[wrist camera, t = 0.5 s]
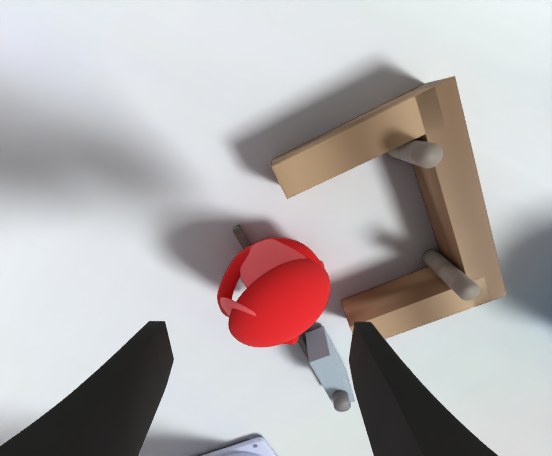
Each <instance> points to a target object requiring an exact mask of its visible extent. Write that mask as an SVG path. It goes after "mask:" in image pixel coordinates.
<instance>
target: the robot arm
mask: <svg viewBox="0 0 552 456" xmlns="http://www.w3.org/2000/svg"><path fill="white" fill-rule="evenodd" d="M173 360H174V358H173V353H172V349H171V345H170V341H169V337H168V332H167V328H166V324H165V321H149V322H148V323H147V324H146V325H145V326H144V327H143V328H141V329H140V330H139V331H138V332H137V333H136V334H135V335H134V336H133V337H132V338H131V339H130V340H129V341H128V342H127V343H126V344H125V345H124V346H123V347H122V348H121V349H120V350H119V351H117V352H116V353H115V354H114V355H113V356H112V357H111V358H110V359H109V360H108V361H107V362H106V363H105V364H104V365H102V366H101V367H100V368H99V369H98V370H97V371H96V372H95V373H94V374H92V375H91V376H90V377H89V378H88V379H87V380H86V381H84V382H83V383H82V384H81V385H80V386H79V387H78V388H76V389H75V390H74V391H73V392H72V393H71V394H69V395H68V396H67V397H66V398H65V399H63V400H62V401H61V402H60V403H58V404H57V405H56V406H55V407H53V408H52V409H51V410H49V411H48V412H47V413H45V414H44V415H43V416H42V417H40V418H39V419H38V420H36V421H35V422H34V423H32V424H31V425H30V426H28V427H27V428H26V429H24V430H23V431H21V432H20V433H18V434H17V435H16V436H14V437H13V438H11V439H10V440H8V441H7V442H6V443H4V444H3V445H1V446H0V456H138V454H139V452H140V449H141V447H142V445H143V442H144V440H145V437H146V435H147V432H148V430H149V428H150V425H151V423H152V420H153V418H154V415H155V413H156V411H157V408H158V406H159V403H160V401H161V398H162V396H163V393H164V391H165V388H166V385H167V382H168V379H169V375H170V372H171V368H172V364H173ZM349 363H350V369H351V375H352V380H353V385H354V390H355V393H356V397H357V400H358V404H359V407H360V410H361V414H362V417H363V421H364V424H365V427H366V431H367V434H368V437H369V441H370V444H371V448H372V451H373V454H374V456H498V455H497V454H495V453H494V452H493V451H492V450H491V449H489V448H488V447H487V446H486V445H485V444H484V443H482V442H481V441H480V440H479V439H478V438H477V437H476V436H475V435H474V434H472V433H471V432H470V431H469V430H468V429H467V428H466V427H465V426H464V425H463V424H462V423H461V422H459V421H458V420H457V419H456V418H455V417H454V416H453V415H452V414H451V413H450V412H449V411H448V410H447V409H446V408H445V407H444V406H443V405H442V404H441V403H440V402H439V401H438V400H437V399H436V398H435V397H434V396H433V395H432V394H431V393H430V391H429V390H428V389H427V388H426V387H425V386H424V385H423V384H422V383H421V382H420V381H419V380H418V378H417V377H416V376H415V375H414V374H413V373H412V372H411V370H410V369H409V368H408V367H407V366H406V365H405V363H404V362H403V361H402V360H401V359H400V358H399V356H398V355H397V354H396V353H395V352H394V350H393V349H392V348H391V347H390V345H389V344H388V343H387V342H386V340H385V339H384V338H383V336H382V335H381V334H380V333H379V331H378V330H377V329H376V327H375V326H374V325H373V324H372V323H371V322H354V328H353V335H352V342H351V349H350V356H349ZM202 456H276V454H275V453H274V452H273V450H272V449H271V448H270V446H269V445H268V444H267V442H266V441H265V440H264V439H263V438H262V437H257V438H254V439H251V440H248V441H245V442H242V443H239V444H235V445H232V446H229V447H226V448H223V449H220V450H217V451H214V452H211V453H208V454H205V455H202Z"/></svg>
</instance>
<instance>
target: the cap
mask: <svg viewBox="0 0 552 456" xmlns="http://www.w3.org/2000/svg"><path fill="white" fill-rule="evenodd" d="M240 276H241V279H242V281H243V283H244V285H245V286H246V287H247V289H246V290H245V291H244V292H243V293H242V295H241V296H240V297H239V299H238V300H237V302H235V301H233V300H232V295H233V292H234V289H235V286H236V284H237V282H238V280H239V277H240ZM329 295H330V279H329V276H328V274H327V272H326V270H325V269H324V264H323V262H322V261H320V260H319V259H318V258H317V257H316V255H315V254H314V253H313V252H312V251H311V250H310V249H309V248H308V247H307V246H305V245H304V244H302V243H300V242H298V241H295V240H291V239H286V238H267V239H264V240H262V241H258V242H256V243H254V244H252V245H250V246H248V247H247V248H245V249H243V250H242V251H241V252H240V253H239V254H237V256H236V257H235V258H234V259H233V261H232V262H231V264H230V265H229V267H228V269H227V271H226V272H225V274H224V277H223V279H222V281H221V284H220V287H219V290H218V295H217V300H218V304H219V307H220V309H221V311H222V313H223V314H224V315H225V316H227V317H229V330H230V332H231V334H232V335H233V336H234V337H235V338H236V339H237V340H238V341H240V342H241V343H243V344H246V345H248V346H253V347H271V346H276V345H279V344H295V343H296V342H297V341H298V336H299V335H300V334H302V333H303V332H305V331H306V330H307V329H308V328H309V327H311V326H312V325H313V324H314V322H315V321H316V320H317V319H318V318H319V316H320V315H321V314H322V312H323V310H324V309H325V307H326V304H327V302H328V299H329Z"/></svg>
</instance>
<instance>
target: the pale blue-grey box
mask: <svg viewBox="0 0 552 456" xmlns="http://www.w3.org/2000/svg"><path fill="white" fill-rule="evenodd" d="M305 335H306V343H307V351H308V358H309V364H310V365H311V367H312V369H313V370H314V372H315V374H316V375H317V377H318V379H319V381H320V382H321V384H322V386H323V387H324V389H325V391H326V393H327V394H328V396H329V398H330V399H331V401H332V403H333V405H334V408H335V409H336V410H337V411H340V412H343V411H347V410H348V409H349V408H350V407H351V404H350V403H351V402H354V401H355V400H354V396H353V392H352V389H351V385H350V381H349V378H348V374H347V370H346V368H345V366H344V364H343V362H342V360H341V358H340V356H339V354H338V353H337V351H336V349H335V347H334V345H333V343H332V341H331V339H330V337H329V336H328V334H327V332H326V330H325V328H324V326H323V327H320V328H317V329H315V330H312V331H309V332H307V333H305Z"/></svg>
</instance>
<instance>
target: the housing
mask: <svg viewBox="0 0 552 456" xmlns="http://www.w3.org/2000/svg"><path fill="white" fill-rule="evenodd" d="M384 153H387V154H388V155H389V156H391V157H394V158H397V159H400V160H403V161H406V162H409V163H412V164H413V167H414V171H415V174H416V177H417V180H418V183H419V187H420V190H421V193H422V196H423V199H424V203H425V206H426V209H427V212H428V215H429V218H430V222H431V225H432V228H433V231H434V234H435V238H436V241H437V244H438V247H439V250H440V253H439V252H438V251H436V250H433V249H432V250H428V251H426V252H425V253H424V255H423V257H422V259H423V262H424V263H425V264H426V265H427V266H428V267H426V268H423V269H421V270H418V271H416V272H413V273H411V274H408V275H405V276H403V277H400V278H398V279H395V280H393V281H390V282H388V283H385V284H382V285H380V286H377V287H375V288H372V289H370V290H367V291H365V292H362V293H359V294H357V295H354V296H352V297H349V298H347V299H344V300H342V301H341V303H342V306H343V309H344V312H345V315H346V318H347V321H348V324H349V326H350V329H351V331H352V333H353V328H354V322H371V323H372V324H373V325H374V326H375V327H376V329H377V330H378V331H379V333H380V334H381V335H382V336H383V338H384V339H386V338H389V337H392V336H395V335H397V334H400V333H403V332H406V331H409V330H411V329H414V328H417V327H420V326H422V325H425V324H428V323H431V322H434V321H436V320H439V319H442V318H445V317H448V316H450V315H453V314H456V313H459V312H462V311H464V310H467V309H470V308H473V307H475V306H478V305H481V304H484V303H487V302H489V301H492V300H495V299H498V298H501V297H503V296H506V291H505V287H504V283H503V278H502V274H501V270H500V266H499V261H498V257H497V253H496V249H495V244H494V240H493V236H492V232H491V227H490V223H489V219H488V215H487V210H486V206H485V202H484V198H483V193H482V189H481V185H480V181H479V176H478V172H477V168H476V164H475V159H474V155H473V151H472V147H471V142H470V138H469V134H468V130H467V125H466V121H465V117H464V113H463V108H462V104H461V100H460V96H459V92H458V87H457V83H456V79H455V76H454V77H450V78H446V79H442V80H437V81H433V82H429V83H425V84H423V85H421V86H419V87H417V88H415V89H413V90H411V91H409V92H407V93H405V94H403V95H401V96H399V97H397V98H395V99H393V100H391V101H389V102H387V103H385V104H383V105H381V106H379V107H377V108H375V109H373V110H371V111H369V112H367V113H365V114H363V115H361V116H359V117H357V118H355V119H353V120H351V121H349V122H347V123H345V124H343V125H341V126H339V127H337V128H335V129H333V130H331V131H329V132H327V133H325V134H323V135H321V136H319V137H317V138H315V139H313V140H311V141H309V142H307V143H305V144H303V145H301V146H299V147H297V148H295V149H293V150H291V151H289V152H287V153H285V154H283V155H281V156H279V157H277V158H275V159H273V160H272V166H271V167H272V169H273V171H274V173H275V175H276V177H277V179H278V182H279V184H280V186H281V188H282V190H283V192H284V194H285V196H286V198H287V199H288V198H290V197H292V196H295V195H297V194H299V193H301V192H303V191H305V190H307V189H309V188H312V187H314V186H316V185H318V184H320V183H322V182H324V181H326V180H329V179H331V178H333V177H335V176H337V175H339V174H341V173H344V172H346V171H348V170H350V169H352V168H354V167H356V166H358V165H361V164H363V163H365V162H367V161H369V160H371V159H373V158H376V157H378V156H380V155H382V154H384ZM233 232H234V234H235V235H236V237H237V239H238V240H239V242H240V244H241V246H242V247H243V249H245V248H247V247H248V246H250V244H249V242H248V240H247V238H246V237H245V235H244V233H243V231H242V229H241V228H240V226H239V225H238V226H236V227H234V228H233ZM297 342H298V343H299V345H300V347H301V348H302V350H303V352H304V354H305V355H306V357H307V359H308V361H309V358H308V351H307V343H306V342H305V340H304V338H303V336H302V335H301V334H300V335H299V336H298V341H297Z"/></svg>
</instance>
